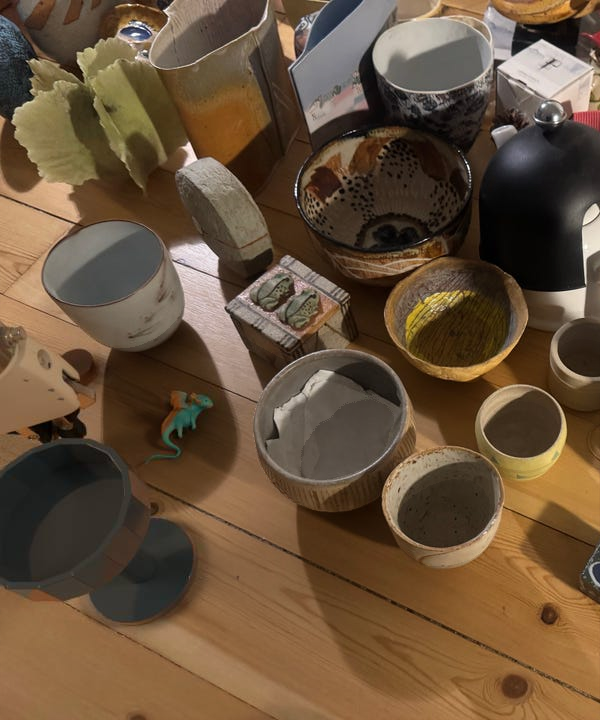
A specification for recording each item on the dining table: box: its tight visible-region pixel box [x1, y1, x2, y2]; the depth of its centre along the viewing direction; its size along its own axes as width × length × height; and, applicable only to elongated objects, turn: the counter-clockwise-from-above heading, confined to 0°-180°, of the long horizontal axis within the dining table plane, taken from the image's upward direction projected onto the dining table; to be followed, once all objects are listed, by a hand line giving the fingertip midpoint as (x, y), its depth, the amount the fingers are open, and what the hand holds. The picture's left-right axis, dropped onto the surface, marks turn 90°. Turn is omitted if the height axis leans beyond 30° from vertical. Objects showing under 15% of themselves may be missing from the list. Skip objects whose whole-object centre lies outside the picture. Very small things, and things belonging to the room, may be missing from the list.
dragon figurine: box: [145, 390, 214, 464], centre depth 83 cm, size 6×7×8 cm
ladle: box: [50, 348, 101, 442], centre depth 83 cm, size 18×5×7 cm, turn 19°
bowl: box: [0, 437, 199, 626], centre depth 67 cm, size 13×13×19 cm
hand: (71, 439), depth 80 cm, fingers closed on ladle, 1 cm apart
